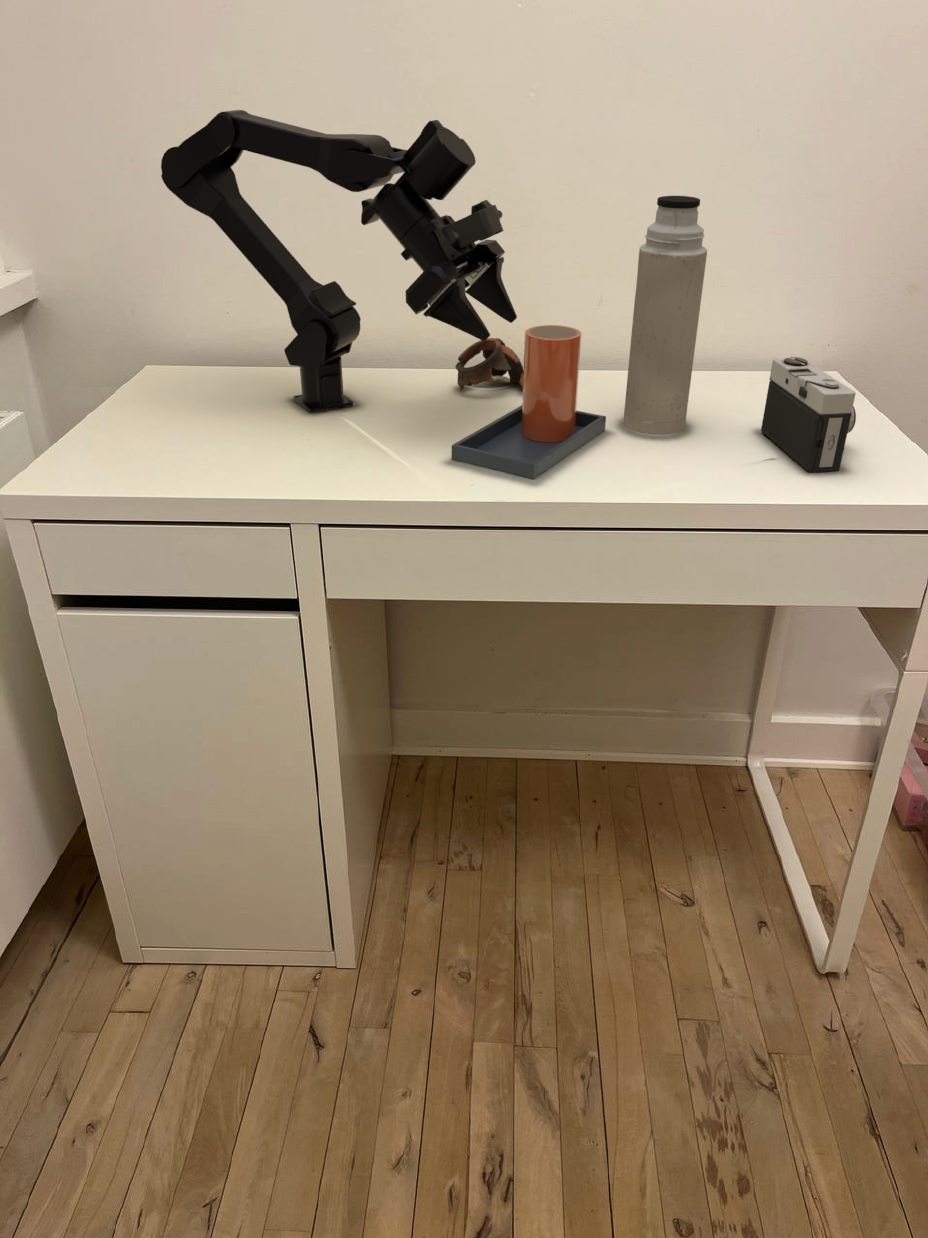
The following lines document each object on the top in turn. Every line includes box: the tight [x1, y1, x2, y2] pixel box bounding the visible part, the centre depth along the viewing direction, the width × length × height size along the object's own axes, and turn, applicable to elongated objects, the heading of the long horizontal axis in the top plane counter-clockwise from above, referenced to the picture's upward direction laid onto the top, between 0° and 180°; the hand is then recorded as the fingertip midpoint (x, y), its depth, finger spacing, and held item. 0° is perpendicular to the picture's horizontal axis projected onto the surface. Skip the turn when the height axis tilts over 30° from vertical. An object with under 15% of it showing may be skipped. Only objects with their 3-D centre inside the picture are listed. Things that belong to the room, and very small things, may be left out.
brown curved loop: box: [454, 337, 524, 392], centre depth 141 cm, size 12×10×8 cm
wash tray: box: [451, 405, 607, 480], centre depth 121 cm, size 19×11×2 cm, turn 148°
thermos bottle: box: [622, 195, 708, 436], centre depth 121 cm, size 8×8×28 cm
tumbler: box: [521, 324, 582, 443], centre depth 121 cm, size 7×7×13 cm
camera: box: [760, 356, 857, 473], centre depth 119 cm, size 14×8×10 cm, turn 9°
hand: (501, 328), depth 121 cm, fingers open, 9 cm apart
